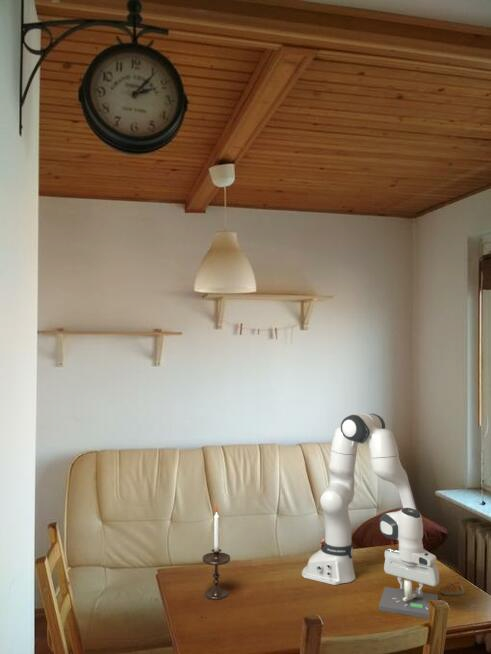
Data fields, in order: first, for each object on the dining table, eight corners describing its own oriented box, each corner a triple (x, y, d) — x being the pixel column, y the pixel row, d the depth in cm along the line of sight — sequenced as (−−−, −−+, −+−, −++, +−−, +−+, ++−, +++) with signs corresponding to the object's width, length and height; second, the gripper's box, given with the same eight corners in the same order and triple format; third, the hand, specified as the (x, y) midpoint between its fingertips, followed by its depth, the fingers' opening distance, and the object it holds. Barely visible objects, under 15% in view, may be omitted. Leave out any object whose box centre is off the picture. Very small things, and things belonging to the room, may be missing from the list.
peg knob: (416, 593, 210) (416, 573, 211) (424, 596, 208) (424, 576, 208) (400, 600, 204) (399, 580, 205) (408, 604, 201) (407, 583, 202)
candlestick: (196, 595, 213) (197, 504, 215) (216, 586, 221) (216, 498, 223) (215, 603, 205) (216, 509, 207) (235, 594, 213) (236, 503, 215)
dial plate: (378, 610, 200) (378, 605, 200) (384, 590, 217) (384, 586, 217) (436, 619, 193) (436, 614, 193) (437, 598, 210) (437, 594, 210)
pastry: (447, 598, 211) (447, 588, 211) (435, 591, 217) (435, 581, 217) (466, 594, 214) (466, 584, 215) (453, 587, 221) (453, 578, 221)
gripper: (381, 549, 208) (381, 586, 208) (434, 563, 196) (434, 602, 195) (388, 544, 213) (388, 580, 213) (440, 557, 201) (440, 595, 200)
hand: (410, 591), depth 204 cm, fingers open, 4 cm apart
